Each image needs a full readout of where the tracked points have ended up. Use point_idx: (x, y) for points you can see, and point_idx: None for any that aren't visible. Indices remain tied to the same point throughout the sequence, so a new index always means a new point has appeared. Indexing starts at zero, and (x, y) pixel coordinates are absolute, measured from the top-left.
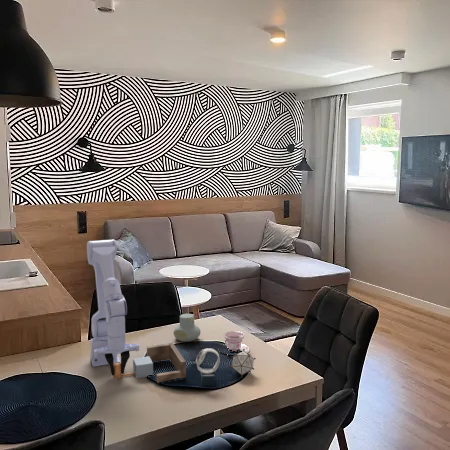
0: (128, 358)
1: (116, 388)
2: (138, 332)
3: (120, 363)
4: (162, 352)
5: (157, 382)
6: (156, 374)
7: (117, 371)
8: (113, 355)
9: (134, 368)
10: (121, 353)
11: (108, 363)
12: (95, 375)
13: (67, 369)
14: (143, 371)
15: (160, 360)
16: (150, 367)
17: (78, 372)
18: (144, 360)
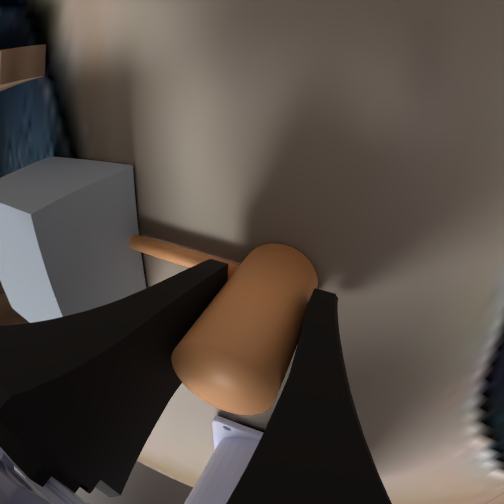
0: (6, 325)
1: (365, 43)
2: (147, 464)
3: (179, 375)
4: (7, 313)
5: (43, 48)
6: (3, 81)
7: (260, 297)
8: (229, 468)
9: (111, 276)
10: (77, 472)
11: (368, 454)
12: (415, 395)
13: (464, 475)
14: (53, 176)
15: None
16: (6, 180)
17: (456, 449)
18: (11, 270)
